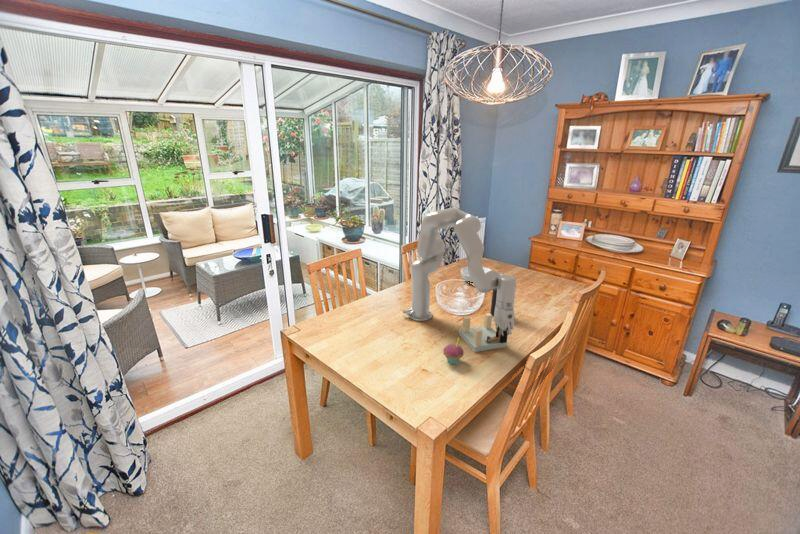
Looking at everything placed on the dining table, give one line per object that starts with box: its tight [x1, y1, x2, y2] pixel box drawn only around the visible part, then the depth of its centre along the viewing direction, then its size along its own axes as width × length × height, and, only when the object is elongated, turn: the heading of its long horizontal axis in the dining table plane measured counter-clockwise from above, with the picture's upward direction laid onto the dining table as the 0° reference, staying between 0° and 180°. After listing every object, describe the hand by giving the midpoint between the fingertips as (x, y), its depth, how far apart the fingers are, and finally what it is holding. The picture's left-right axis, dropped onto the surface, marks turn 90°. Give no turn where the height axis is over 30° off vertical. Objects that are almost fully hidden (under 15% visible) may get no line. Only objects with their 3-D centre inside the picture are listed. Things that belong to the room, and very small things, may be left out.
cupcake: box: [442, 337, 465, 365], centre depth 147 cm, size 9×8×12 cm
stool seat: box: [458, 312, 508, 353], centre depth 163 cm, size 16×16×10 cm
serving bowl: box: [460, 266, 492, 283], centre depth 231 cm, size 21×21×7 cm
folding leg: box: [487, 327, 506, 342], centre depth 157 cm, size 8×2×7 cm, turn 92°
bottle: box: [489, 288, 497, 318], centre depth 184 cm, size 7×7×20 cm
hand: (501, 339), depth 158 cm, fingers closed on folding leg, 3 cm apart
